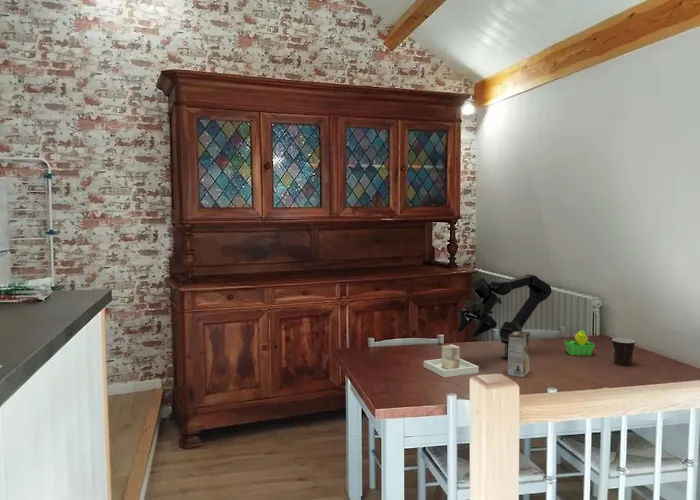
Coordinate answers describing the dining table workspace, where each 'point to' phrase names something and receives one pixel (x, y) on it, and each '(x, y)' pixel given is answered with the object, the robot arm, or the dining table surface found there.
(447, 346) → the birch block
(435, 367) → the tray
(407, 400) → the dining table surface
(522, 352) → the coffee box
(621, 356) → the coffee mug
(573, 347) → the fruit basket
